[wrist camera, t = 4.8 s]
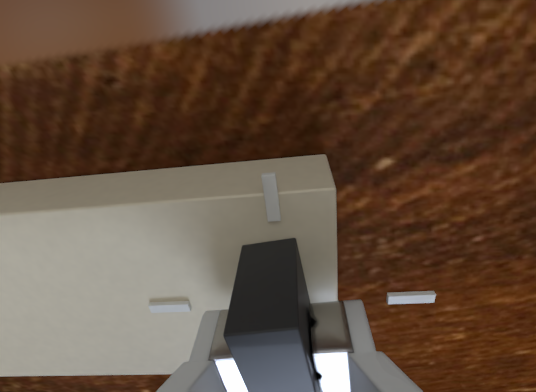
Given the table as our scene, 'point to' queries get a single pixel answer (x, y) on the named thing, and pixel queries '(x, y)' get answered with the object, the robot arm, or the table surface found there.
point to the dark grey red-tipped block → (271, 320)
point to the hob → (149, 259)
